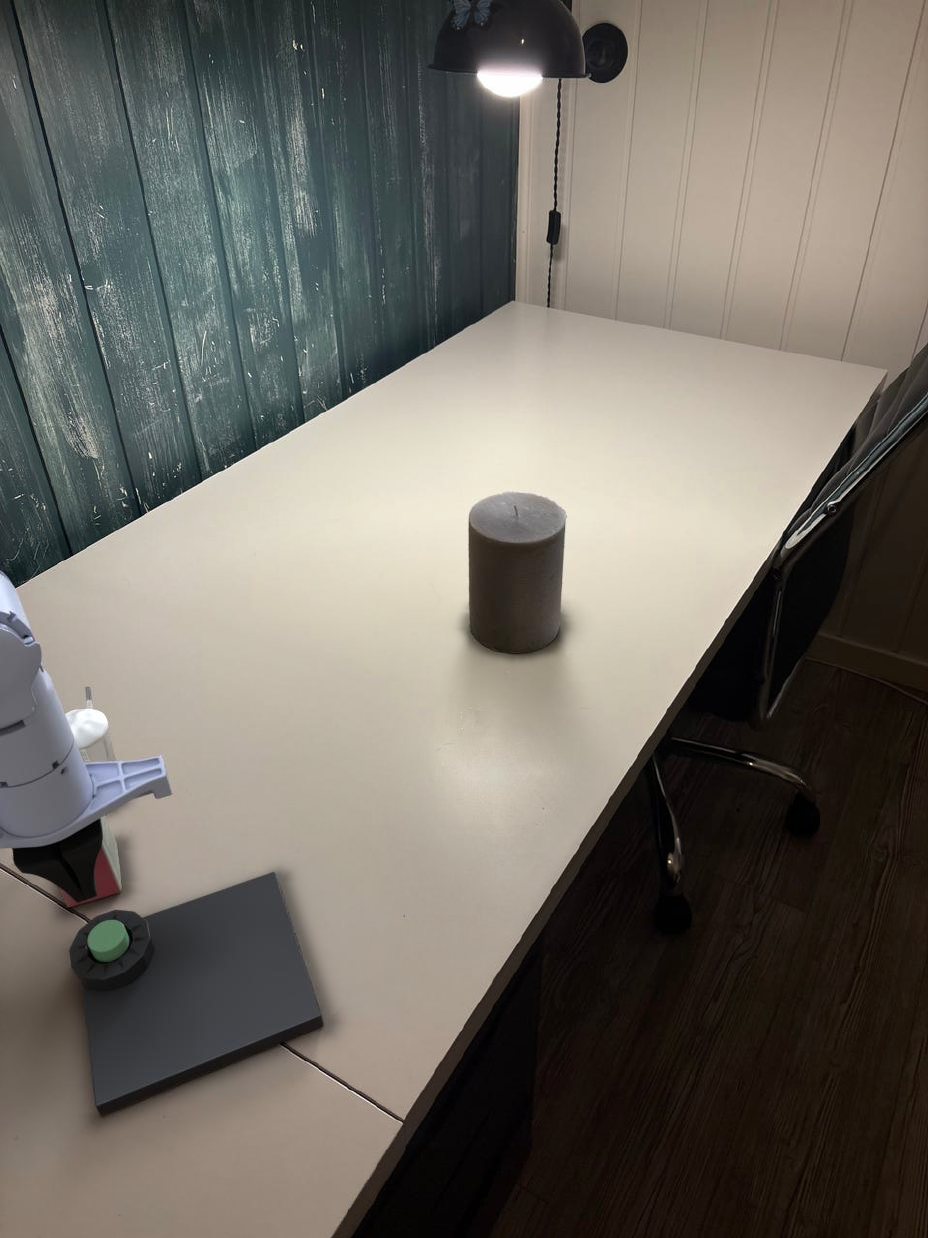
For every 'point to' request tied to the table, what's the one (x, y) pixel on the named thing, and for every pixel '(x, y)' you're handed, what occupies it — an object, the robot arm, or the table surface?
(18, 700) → the robot arm
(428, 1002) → the table surface
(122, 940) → the button
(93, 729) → the milkshake
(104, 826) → the small box
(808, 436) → the table surface
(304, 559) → the table surface
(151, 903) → the table surface
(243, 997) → the scale
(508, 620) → the pillar candle
